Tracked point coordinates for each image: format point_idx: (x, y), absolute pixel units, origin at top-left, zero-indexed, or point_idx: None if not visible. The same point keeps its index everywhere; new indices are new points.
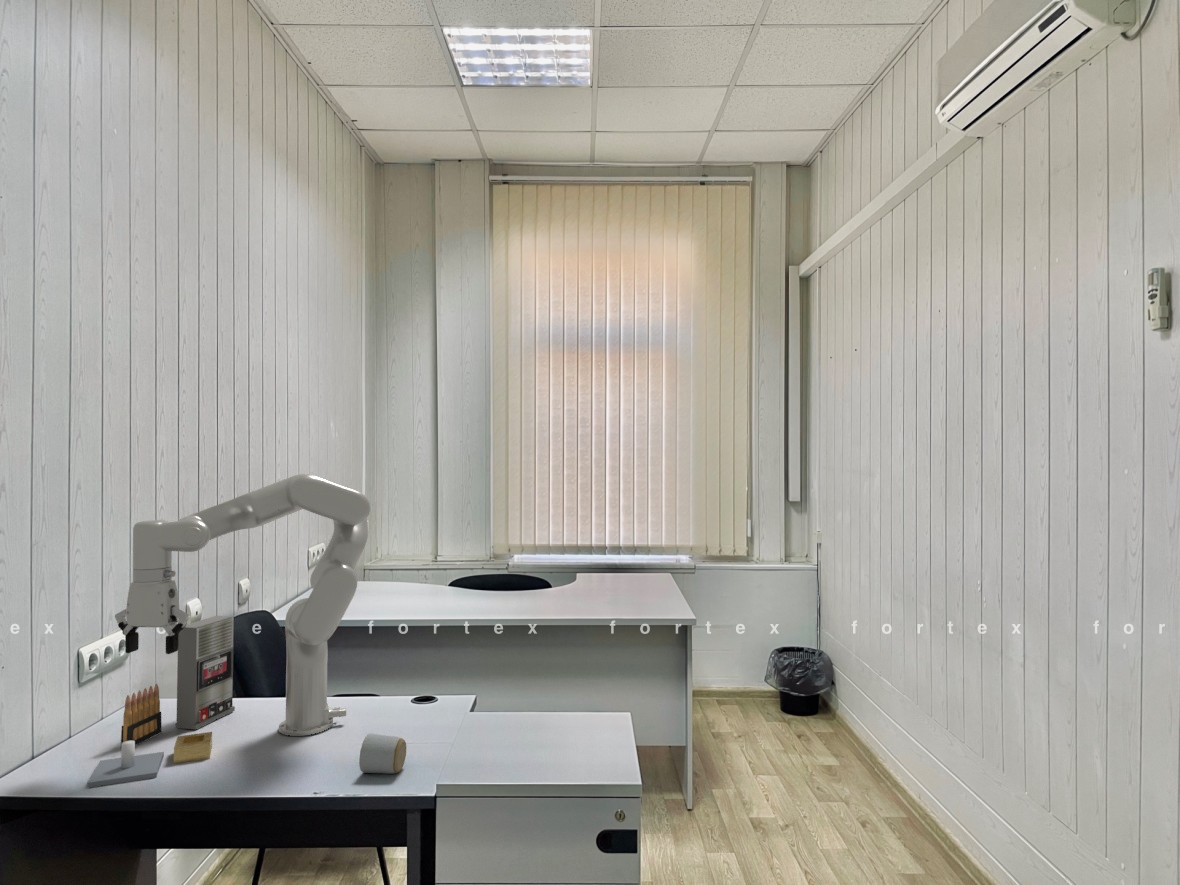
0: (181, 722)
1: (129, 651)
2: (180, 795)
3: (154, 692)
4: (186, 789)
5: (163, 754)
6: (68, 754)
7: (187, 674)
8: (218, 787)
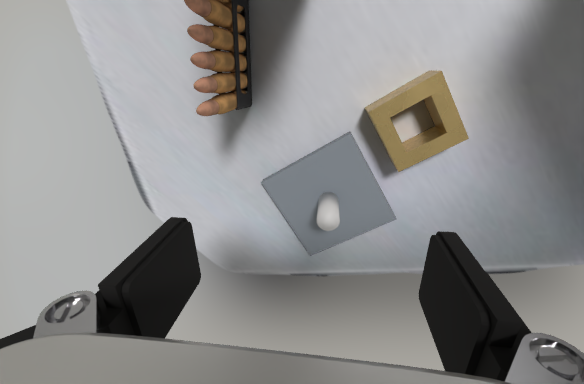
0: None
1: (198, 279)
2: None
3: None
4: (471, 249)
5: (352, 136)
6: (168, 142)
7: None
8: (526, 241)
